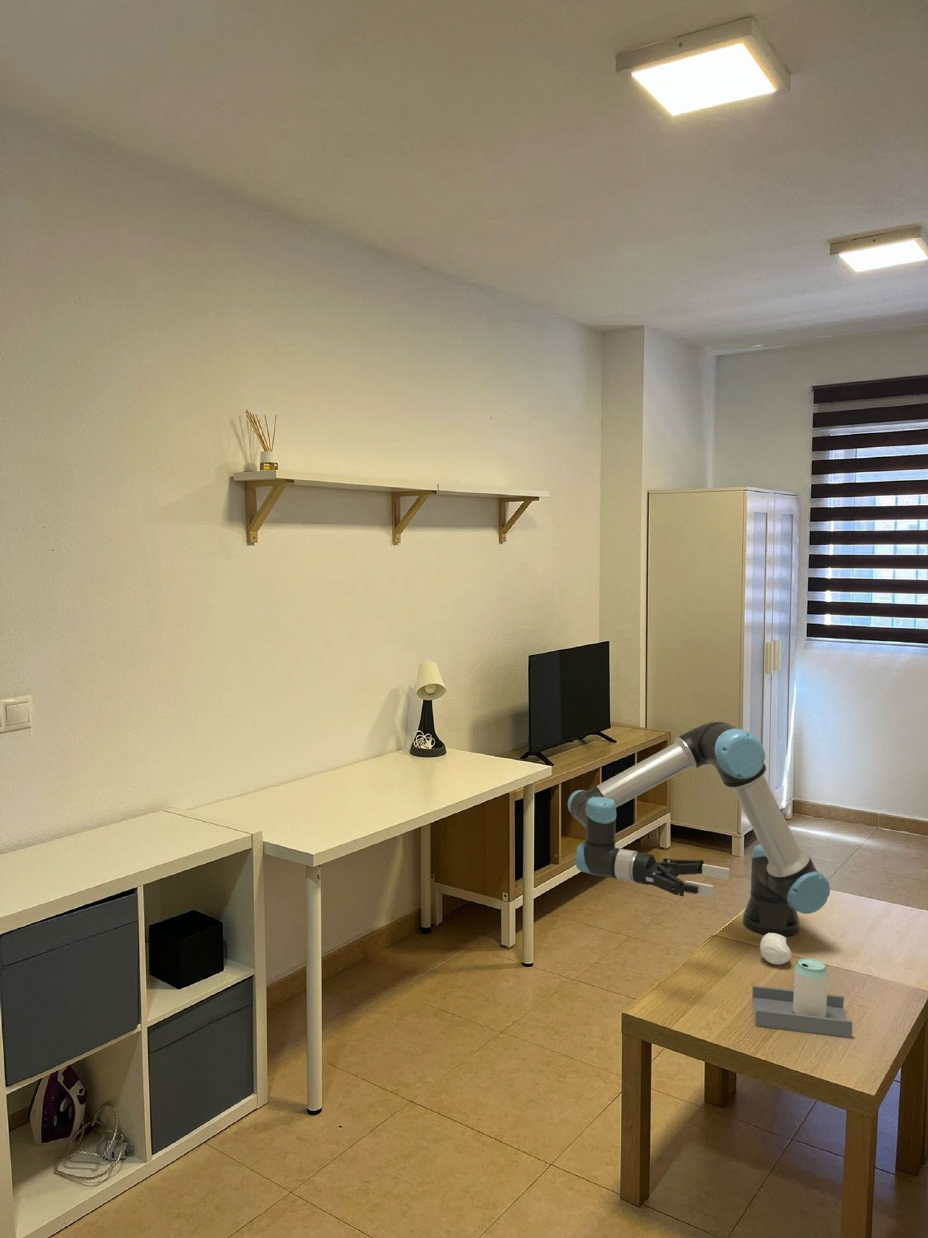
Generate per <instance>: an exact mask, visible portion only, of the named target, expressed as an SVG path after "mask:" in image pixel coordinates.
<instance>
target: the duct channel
mask: <svg viewBox="0 0 928 1238" xmlns="http://www.w3.org/2000/svg"><path fill="white" fill-rule="evenodd" d="M751 989H752V991H751V992H752V993H751V1002H752V1010H753V1015H754V1022H755V1023H754V1025H755V1027H763V1028H771V1029H777V1030H785V1029H786V1031H794V1032H801V1033H810V1034H817V1035H823V1036H824V1035H826V1036H832V1037H833V1036H834V1037H839V1038H841V1037H842V1038H848V1039H852V1038H853V1036H852V1035H853V1020H848V1019H847V1015H846V1012H845V1009H844V1003H845V1002H844V1001H845V999H844V998H845V997H844V996H843V995H838V994H830V993H827V1006H826V1017H818V1016H809V1015H801V1014H795V1013H794V1011H793V995H794V989H787V988H779V987H770V986H769V987H768V986H761V985H752V988H751Z"/></svg>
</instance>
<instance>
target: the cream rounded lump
mask: <svg viewBox="0 0 928 1238" xmlns="http://www.w3.org/2000/svg"><path fill="white" fill-rule="evenodd" d="M759 943H760V944H759V950H760V953H761V956H762V957H763V959H764V960H765V961H766V962H768V963H770V964H772V965H776V966H777V965H783V964H787V963H788V962H789V961H790V959H791V957H792V955H793V954H792V951H791V950H790V948H789V946H788V945H787V937H786V936H782V935H779V934H776V933H767V934H766V935H765V934H764V935H763V936H762V938H761V940H760V942H759Z"/></svg>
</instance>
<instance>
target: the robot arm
mask: <svg viewBox="0 0 928 1238" xmlns="http://www.w3.org/2000/svg"><path fill="white" fill-rule="evenodd" d="M765 760H766V754H765V748H764V746H763V744H762V742H761V741H760V740H759V739H758V738H757V737H756V736H755V735H753V734H752V733H751V732H749V731H747V730H744V729H741V728H738V727H736V726H733V725H730V724H729V723H726V722H723V721H710V722H706V723H704V724H701V725H699V726H697V727H695V728H691V730H689V731H687V732H684V733H683V734H681V735H680V736H677V737H676V738H675V741H674V743H673V744H671V745H669V746H667V747H665V748H663V749H662V750H660V751H658V752H656V753H654V754H652V755H651V756H649V757H647V758H645V759H643V760H641V761H640V762H638V763H636V764H634V765H632V766H631V767H629V768H627V769H625V770H623V771H622V772H619V773H618V774H615V776H612V777H610V778H608V779H607V780H605V781H603V782H601V783H599V784H597V785H596V786H594V787H593V788H590V789H588V790H585V789H578V790H575V791H574V792H572V793H571V794H570V796H569V797H568V800H567V808H568V812H570V813H571V816H572V817H573V818H574V819H575V820H576V821H578V822H579V823H580V824H581V825H582V826H583V827H584V828H585V841H583V842H581V843H579V844H578V846H577V848H576V850H575V853H576V854H575V856H574V863H575V866H576V868H577V869H578V871H580V872H583V873H587V874H590V875H592V876H600V877H605V878H610V879H611V878H612V879H616V880H620V881H621V880H622V882H624V883H627V882H631V883H632V882H635V883H636V884H641V885H644V886H645V885H647V886H649V885H650V886H653V887H654V886H655V887H657V888H659V889H661V890H663V891H666V892H668V893H670V894H672V895H675V896H679V897H684V895H685V894H690V895H695V896H700V897H701V896H702V897H706V898H710V899H713V898H714V887H715V886H714V885H712V884H707V883H702V882H696V881H690V880H685V881H683V880H682V879H680V878H678V876H682V875H683V876H684V875H685V876H686V875H687V876H688V875H702V876H703V877H708V878H715V879H720V880H724V881H729V880H730V867H729V868H728V867H721V866H717V865H710V864H705V863H704V862H705V860H704V859H675V858H674V859H671V858H663V859H662V861H656V857H655V855H653V854H652V853H648V852H641V851H640V852H639V851H637V850H630V849H626V848H625V849H624V848H620V847H619V848H618V847H616V828H617V827H616V826H617V824H616V823H617V815H618V814H617V807H620V806H622V805H624V804H626V803H627V802H629V801H631V800H633V799H634V798H636V797H638V796H640V795H642V794H643V793H645V792H647V791H650V790H651V789H654V788H655V787H657V786H659V785H660V784H662V783H664V782H666V781H667V780H670V779H671V778H673V777H675V776H677V775H678V774H681V773H682V772H684V771H685V770H688V769H691V770H697V768H699V767H702V766H705V765H711V766H713V767H714V768H715V769H716V771H717V773H718V775H719V777H720V779H721V781H722V783H723V785H724V786H725V787H726V788H729V789H732V790H733V792H734V794H735V796H736V798H737V800H738V801H739V804H740V806H741V808H742V811H743V812H744V814H745V816H746V818H747V820H748V822H749V824H750V826H751V828H752V830H753V832H754V834H755V837H756V838H757V840H758V843H759V844H756V845H754V846H753V848H752V854H751V870H750V871H751V873H750V874H751V875H750V896H749V898H748V902H747V904H746V907H745V909H744V911H743V914H742V923H743V926H745V927H746V928H747V929H749V930H750V931H752V932H755V933H758V934H762V935H764V936H765V935H766V934H767V933H776V934H779V935H782V936H784V937H789V936H793V935H795V934H798V933H799V931H800V924H801V923H800V918H799V914H805V915H807V914H808V915H809V914H813V913H816V912H818V911H819V910H821V909H822V908H823V907H824V906H825V905H826V903H827V901H828V898H829V897H830V894H831V893H830V892H831V886H830V883H829V880H828V878H827V877H826V876H825V875H824V874H823V873H821V872H819V871H818V870H817V868H816V867H815V865H814V863H813V860H812V859H811V857H810V854H809V853H808V851H806V850H804V849H800V847H799V845H798V843H797V841H796V839H795V837H794V834H793V833H792V830H791V829H790V827H789V824H788V822H787V821H786V819H785V816H784V814H783V812H782V810H781V808H780V806H779V804H778V802H777V800H776V798H775V797H774V793H773V792H772V790H771V788H770V785H769V783H768V781H767V779H766V777H765V776H764V775H765V774H766V772H767V766H766V764H765ZM798 913H799V914H798Z"/></svg>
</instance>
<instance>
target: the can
mask: <svg viewBox="0 0 928 1238" xmlns="http://www.w3.org/2000/svg"><path fill="white" fill-rule="evenodd" d="M793 977H794V978H793V990H794V995H793V1011H794V1013H795V1014H801V1015H809V1016H818V1017H826V1006H827V994H828V982H829V981H828V980H829V972H828V970H827V968H826V964H825V963H824V962H822V961H821V960H818V959H815V958H810V957H809V958H806V957H805V958H804V957H803V958H800V959H799V960H798V962H797V964H796V965H795V966H794V976H793Z"/></svg>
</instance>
